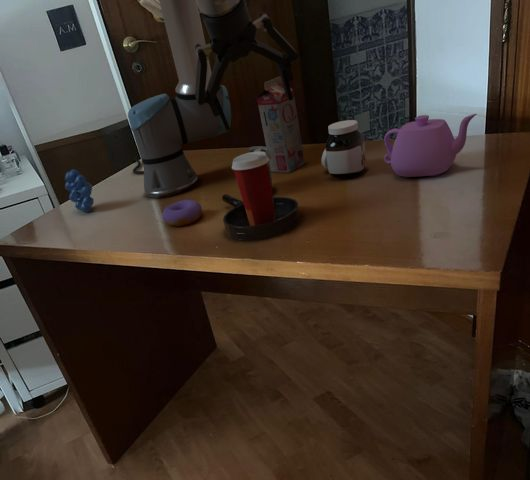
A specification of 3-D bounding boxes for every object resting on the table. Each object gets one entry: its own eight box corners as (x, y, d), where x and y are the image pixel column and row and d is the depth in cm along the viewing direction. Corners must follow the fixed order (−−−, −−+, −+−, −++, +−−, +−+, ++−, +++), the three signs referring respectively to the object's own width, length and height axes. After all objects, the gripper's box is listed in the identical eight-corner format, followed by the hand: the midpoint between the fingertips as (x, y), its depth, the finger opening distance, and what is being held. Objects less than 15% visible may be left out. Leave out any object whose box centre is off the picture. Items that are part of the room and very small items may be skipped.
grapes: (111, 208, 146) (94, 164, 139) (90, 217, 142) (72, 173, 136) (90, 204, 153) (73, 162, 147) (69, 213, 150) (52, 171, 143)
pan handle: (220, 203, 127) (218, 195, 126) (230, 199, 128) (228, 191, 127) (240, 214, 118) (238, 205, 117) (251, 210, 119) (250, 201, 117)
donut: (156, 222, 126) (153, 202, 124) (190, 216, 131) (188, 196, 129) (175, 230, 119) (173, 209, 117) (210, 223, 124) (209, 202, 122)
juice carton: (304, 163, 143) (290, 74, 131) (289, 172, 140) (273, 81, 128) (286, 163, 148) (271, 76, 135) (271, 171, 144) (254, 83, 132)
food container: (272, 200, 124) (264, 157, 118) (247, 204, 125) (238, 161, 120) (281, 183, 134) (274, 142, 128) (258, 186, 135) (249, 146, 130)
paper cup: (287, 216, 113) (275, 149, 105) (268, 231, 108) (254, 162, 100) (257, 215, 117) (243, 151, 109) (238, 230, 112) (222, 163, 104)
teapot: (377, 183, 119) (372, 129, 113) (392, 163, 129) (389, 112, 122) (471, 179, 110) (472, 119, 104) (480, 158, 119) (482, 102, 113)
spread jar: (354, 181, 123) (349, 129, 117) (311, 182, 129) (304, 132, 123) (373, 164, 131) (369, 114, 125) (332, 165, 137) (326, 118, 131)
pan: (215, 228, 117) (211, 215, 115) (277, 204, 121) (275, 191, 119) (246, 248, 104) (243, 233, 102) (314, 220, 109) (312, 206, 107)
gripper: (158, 49, 86) (205, 149, 104) (299, -21, 84) (322, 94, 102) (149, 26, 89) (196, 127, 108) (284, -41, 88) (309, 73, 106)
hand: (257, 111), depth 105 cm, fingers open, 13 cm apart
